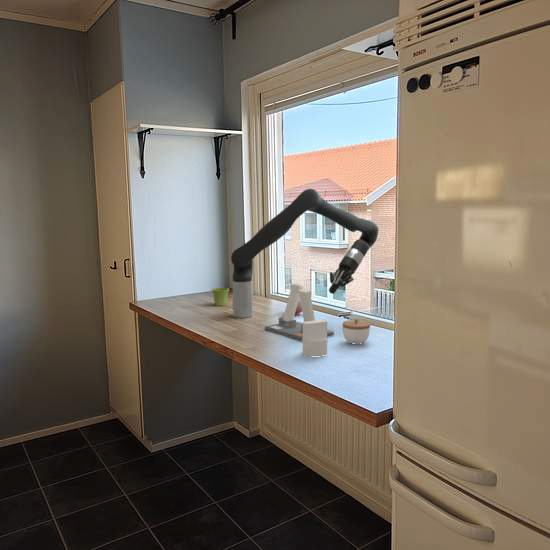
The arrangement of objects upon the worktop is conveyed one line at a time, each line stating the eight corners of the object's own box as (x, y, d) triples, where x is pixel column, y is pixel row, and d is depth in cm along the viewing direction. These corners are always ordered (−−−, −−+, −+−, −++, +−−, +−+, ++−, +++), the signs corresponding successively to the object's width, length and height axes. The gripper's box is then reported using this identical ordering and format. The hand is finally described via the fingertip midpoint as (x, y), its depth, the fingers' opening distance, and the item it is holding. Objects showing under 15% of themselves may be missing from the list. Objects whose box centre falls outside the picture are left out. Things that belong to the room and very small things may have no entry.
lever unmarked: (288, 324, 226) (299, 285, 227) (281, 322, 230) (291, 283, 231) (292, 325, 227) (302, 286, 229) (284, 323, 231) (295, 285, 233)
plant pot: (220, 302, 287) (219, 287, 286) (233, 304, 282) (233, 288, 281) (208, 305, 280) (207, 289, 278) (221, 307, 274) (221, 291, 273)
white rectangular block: (309, 358, 187) (309, 325, 185) (298, 352, 195) (298, 320, 193) (331, 355, 190) (332, 323, 189) (319, 349, 199) (320, 318, 197)
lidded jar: (339, 344, 204) (339, 321, 203) (345, 337, 214) (346, 315, 213) (366, 347, 201) (367, 323, 199) (372, 340, 210) (372, 317, 209)
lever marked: (313, 332, 215) (306, 292, 210) (304, 330, 219) (298, 290, 214) (317, 330, 216) (310, 290, 211) (308, 328, 220) (302, 289, 215)
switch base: (305, 342, 208) (305, 331, 208) (264, 329, 228) (264, 319, 228) (333, 335, 218) (334, 324, 217) (292, 324, 238) (292, 314, 238)
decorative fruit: (306, 312, 261) (306, 292, 260) (305, 316, 253) (305, 295, 252) (287, 312, 262) (287, 292, 261) (285, 316, 254) (285, 295, 253)
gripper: (336, 254, 231) (315, 285, 225) (358, 256, 221) (337, 289, 215) (344, 265, 235) (324, 295, 229) (367, 268, 225) (346, 300, 219)
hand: (331, 292), depth 222 cm, fingers closed
